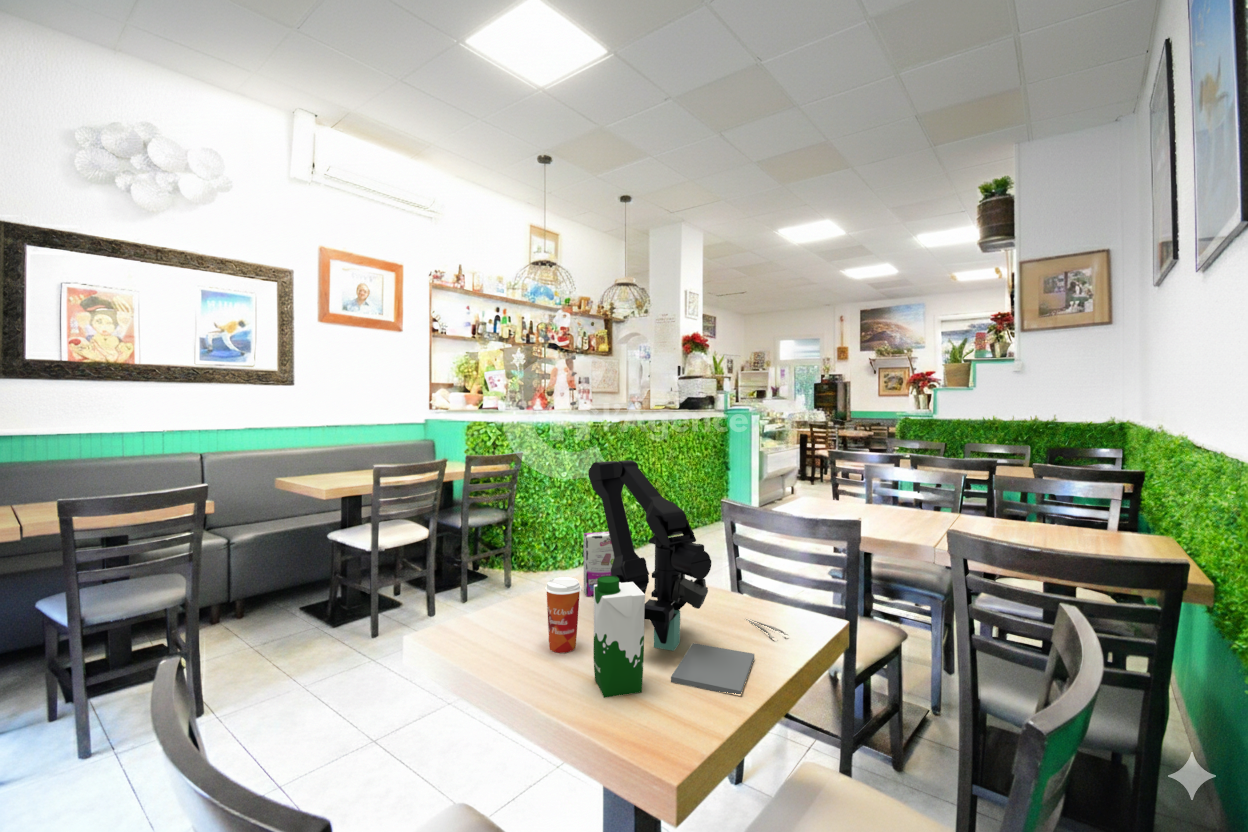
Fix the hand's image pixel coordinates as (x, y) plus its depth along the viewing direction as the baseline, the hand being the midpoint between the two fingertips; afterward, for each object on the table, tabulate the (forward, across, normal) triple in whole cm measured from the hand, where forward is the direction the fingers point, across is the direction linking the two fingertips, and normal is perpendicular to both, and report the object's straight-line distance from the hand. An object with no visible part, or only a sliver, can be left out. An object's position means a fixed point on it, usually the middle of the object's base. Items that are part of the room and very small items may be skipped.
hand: (666, 638), depth 119 cm
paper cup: (+2, -10, +20) cm, 22 cm away
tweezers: (+2, +19, -16) cm, 25 cm away
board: (+1, -7, -12) cm, 14 cm away
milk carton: (+2, -20, +3) cm, 20 cm away
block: (+1, 0, 0) cm, 1 cm away
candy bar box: (+2, +25, +26) cm, 36 cm away
